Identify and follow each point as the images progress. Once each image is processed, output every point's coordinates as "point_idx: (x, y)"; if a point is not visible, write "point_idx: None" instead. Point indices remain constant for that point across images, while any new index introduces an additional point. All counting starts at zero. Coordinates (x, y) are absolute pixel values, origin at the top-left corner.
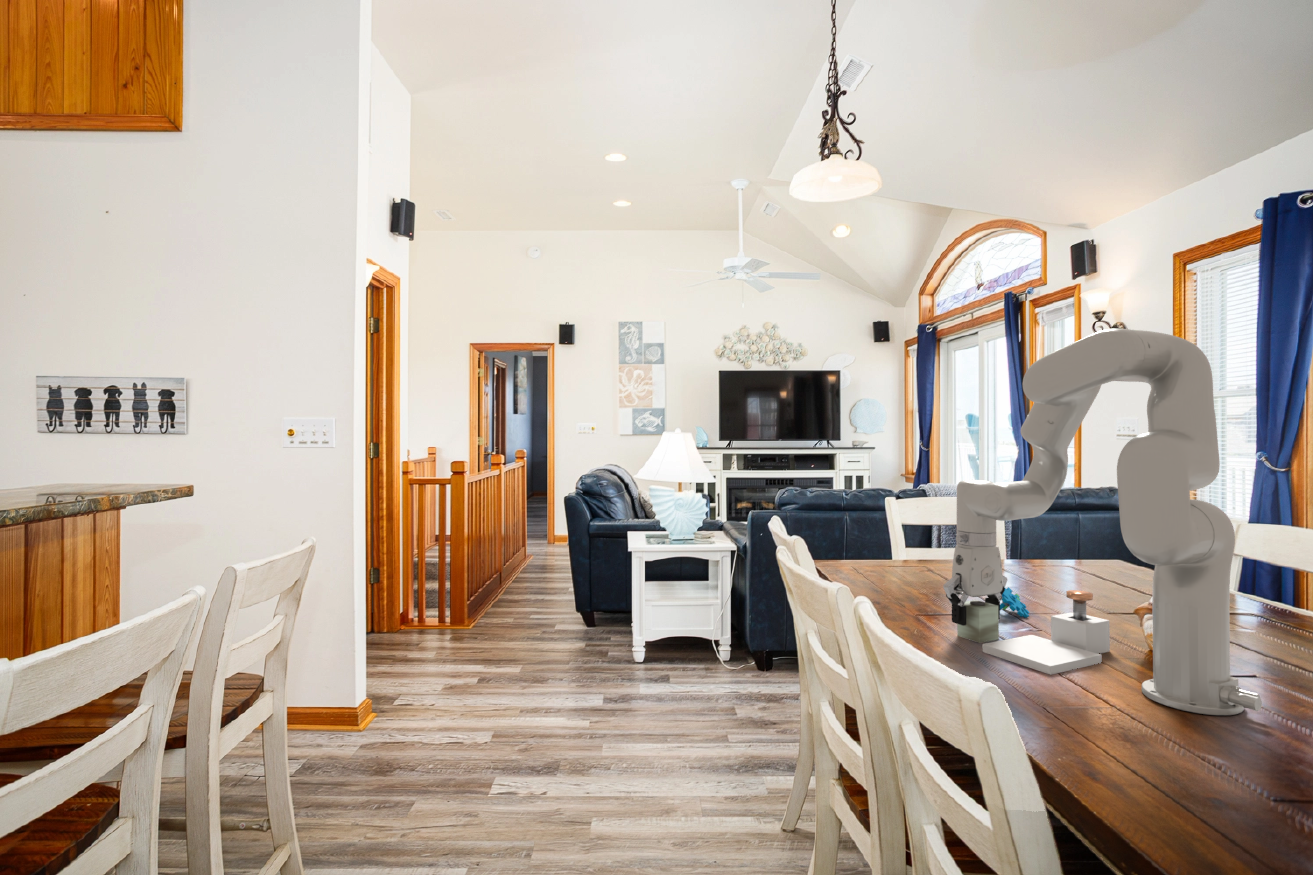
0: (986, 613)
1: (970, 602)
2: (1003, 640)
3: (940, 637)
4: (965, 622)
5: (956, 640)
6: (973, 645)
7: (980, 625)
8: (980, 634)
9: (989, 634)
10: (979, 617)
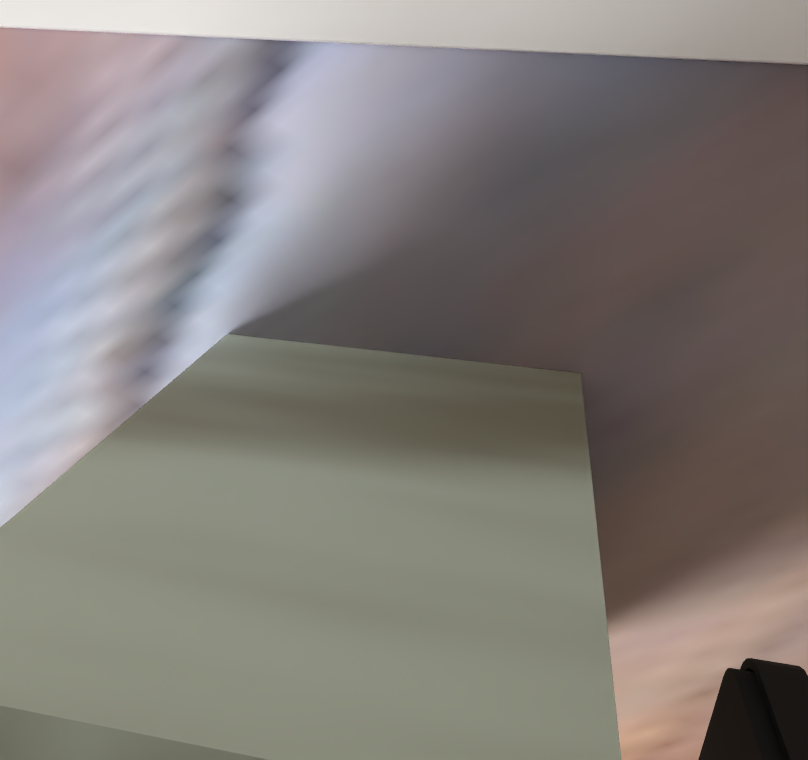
0: (345, 629)
1: None
2: (521, 27)
3: None
4: (788, 694)
5: (733, 576)
6: (771, 351)
7: (562, 504)
8: (561, 424)
9: (372, 388)
10: (597, 620)
